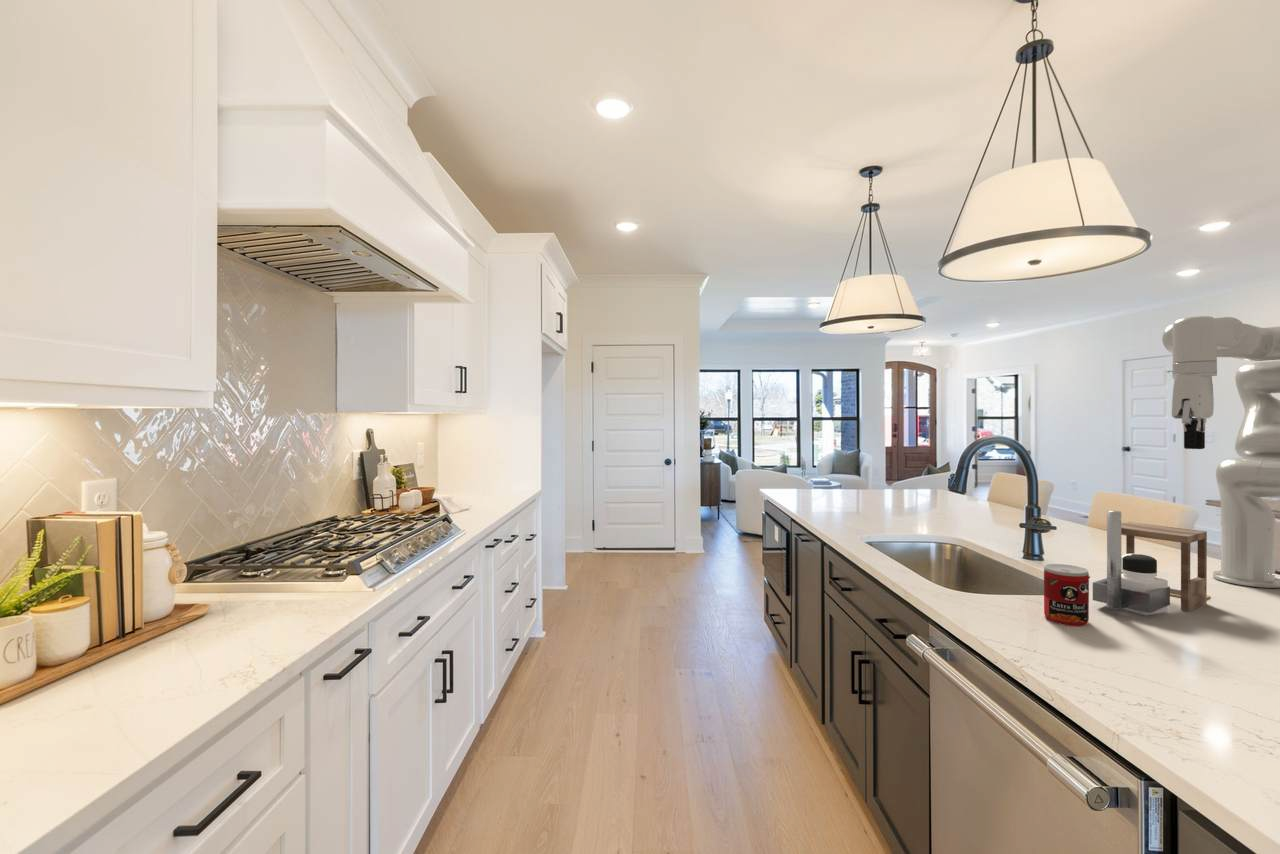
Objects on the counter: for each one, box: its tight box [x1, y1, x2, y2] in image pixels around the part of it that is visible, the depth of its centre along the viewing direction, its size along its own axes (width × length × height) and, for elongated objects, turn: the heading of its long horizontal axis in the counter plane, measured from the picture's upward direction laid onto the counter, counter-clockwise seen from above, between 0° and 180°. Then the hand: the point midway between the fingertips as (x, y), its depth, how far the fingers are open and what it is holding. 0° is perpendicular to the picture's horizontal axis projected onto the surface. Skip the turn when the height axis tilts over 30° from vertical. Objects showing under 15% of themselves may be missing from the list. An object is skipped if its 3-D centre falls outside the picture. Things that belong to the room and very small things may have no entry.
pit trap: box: [1170, 587, 1212, 600], centre depth 139 cm, size 6×12×1 cm, turn 30°
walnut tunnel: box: [1121, 521, 1208, 613], centre depth 134 cm, size 11×14×16 cm
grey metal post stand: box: [1092, 510, 1171, 613], centre depth 127 cm, size 14×10×21 cm
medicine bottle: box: [1121, 553, 1169, 616], centre depth 128 cm, size 7×7×12 cm
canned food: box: [1043, 563, 1090, 627], centre depth 122 cm, size 8×8×11 cm
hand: (1194, 448), depth 135 cm, fingers closed
